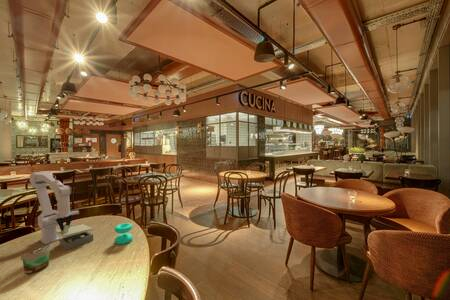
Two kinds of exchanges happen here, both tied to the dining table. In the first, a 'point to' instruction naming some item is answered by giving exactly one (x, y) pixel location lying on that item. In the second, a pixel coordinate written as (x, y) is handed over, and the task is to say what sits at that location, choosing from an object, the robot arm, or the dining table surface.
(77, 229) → the lid
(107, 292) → the dining table surface
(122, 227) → the donuts
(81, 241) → the tub
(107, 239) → the dining table surface
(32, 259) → the food container
